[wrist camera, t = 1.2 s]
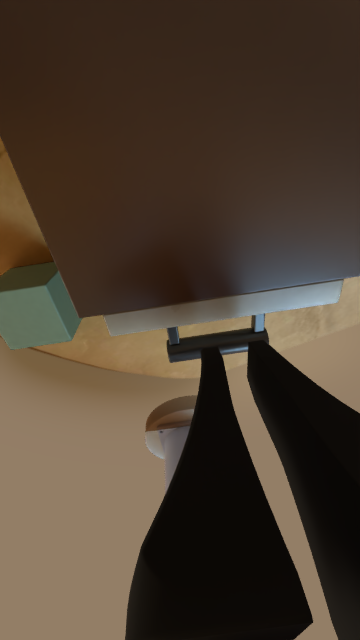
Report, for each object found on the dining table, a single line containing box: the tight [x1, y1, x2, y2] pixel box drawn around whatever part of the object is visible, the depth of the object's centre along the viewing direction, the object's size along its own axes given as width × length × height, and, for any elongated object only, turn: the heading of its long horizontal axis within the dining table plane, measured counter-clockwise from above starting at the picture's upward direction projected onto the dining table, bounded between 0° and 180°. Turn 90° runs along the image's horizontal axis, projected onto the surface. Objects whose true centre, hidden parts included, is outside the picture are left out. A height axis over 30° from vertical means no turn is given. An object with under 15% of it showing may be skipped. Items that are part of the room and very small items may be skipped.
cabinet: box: [0, 0, 360, 318], centre depth 9 cm, size 14×12×9 cm
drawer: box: [103, 279, 344, 363], centre depth 12 cm, size 17×10×7 cm, turn 7°
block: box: [0, 262, 82, 350], centre depth 16 cm, size 4×4×4 cm
